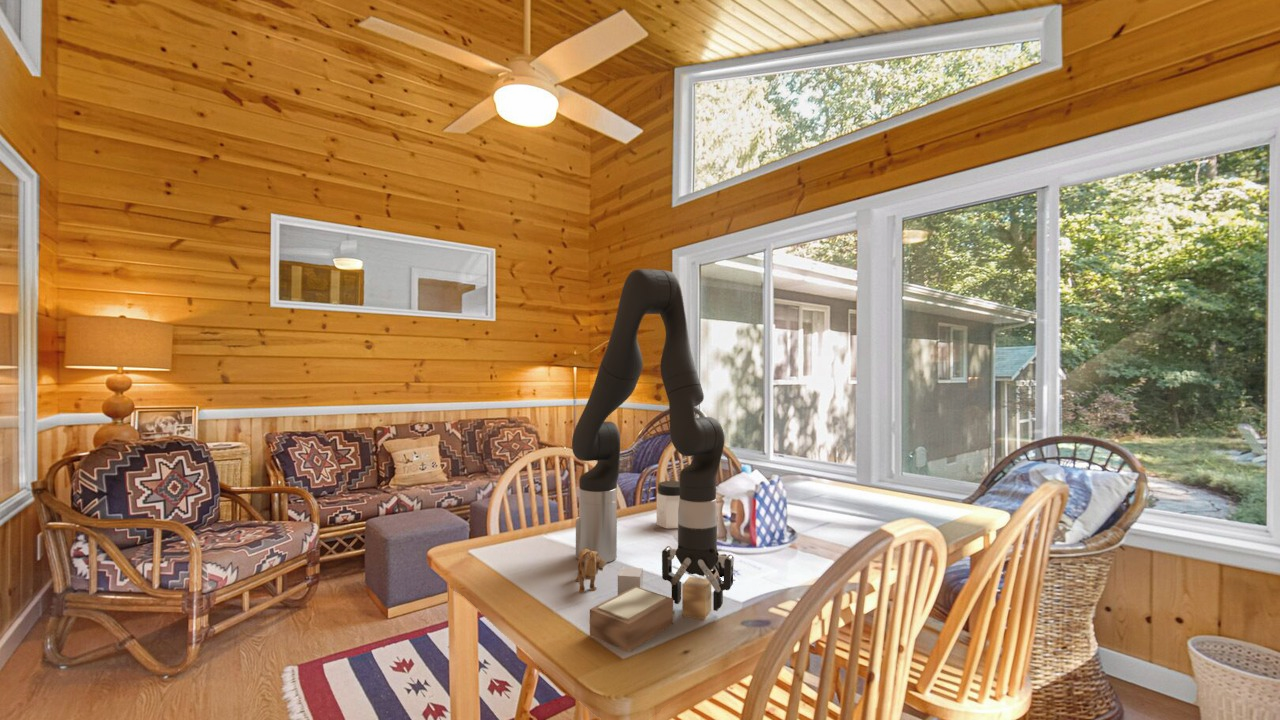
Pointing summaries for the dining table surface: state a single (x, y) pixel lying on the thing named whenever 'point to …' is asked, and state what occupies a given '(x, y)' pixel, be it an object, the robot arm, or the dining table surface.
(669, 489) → the jar
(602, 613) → the plinth
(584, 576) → the lion figurine
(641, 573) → the grey block
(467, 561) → the dining table surface
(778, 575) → the dining table surface
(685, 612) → the oak block
